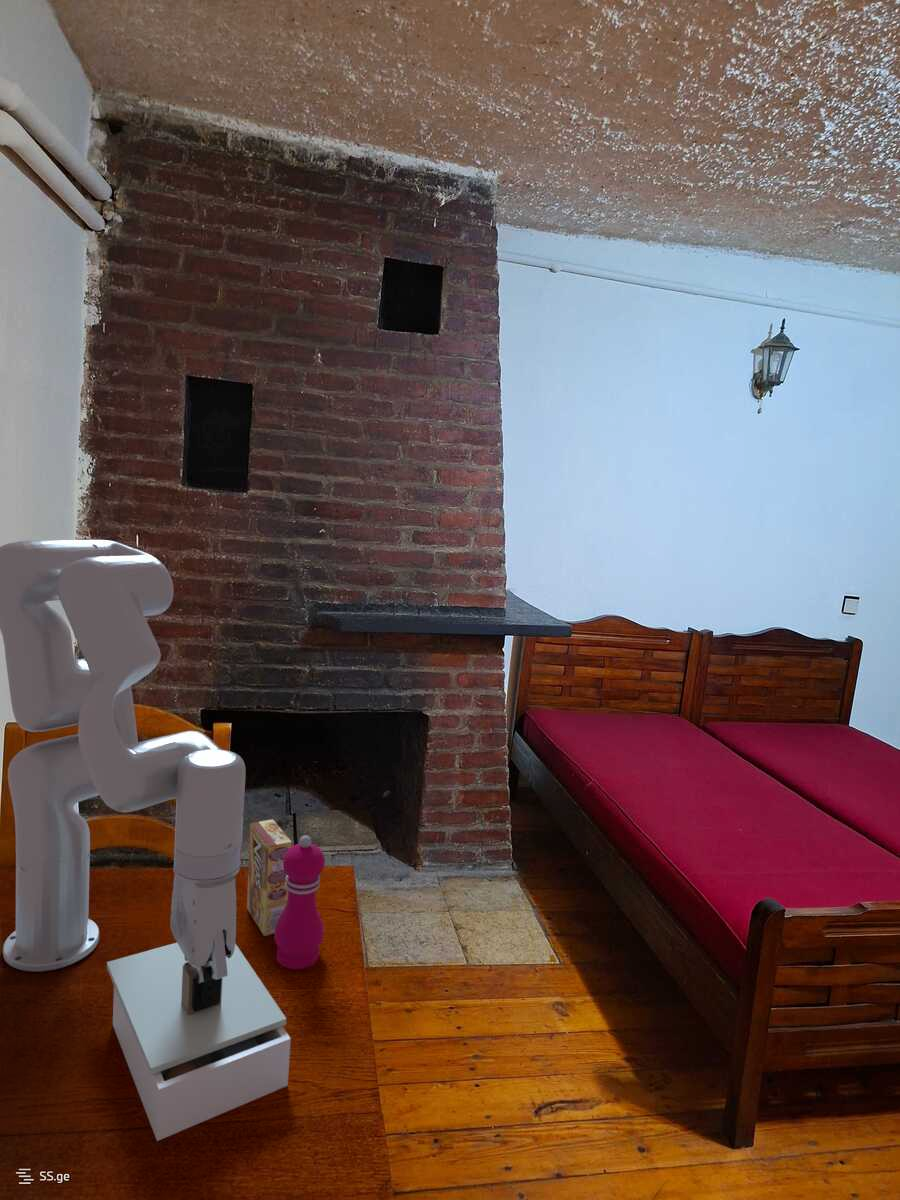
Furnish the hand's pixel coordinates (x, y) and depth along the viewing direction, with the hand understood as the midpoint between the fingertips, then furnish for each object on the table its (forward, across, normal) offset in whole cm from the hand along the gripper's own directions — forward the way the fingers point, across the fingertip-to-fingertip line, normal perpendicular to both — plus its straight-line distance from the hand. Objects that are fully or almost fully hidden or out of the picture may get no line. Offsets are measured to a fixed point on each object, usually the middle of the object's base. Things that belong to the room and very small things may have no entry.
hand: (201, 997), depth 92 cm
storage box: (+9, -1, 0) cm, 9 cm away
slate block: (+8, +4, +3) cm, 9 cm away
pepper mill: (+9, -13, +19) cm, 25 cm away
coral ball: (+8, +4, -4) cm, 10 cm away
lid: (+2, -3, 0) cm, 3 cm away
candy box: (+9, -25, +19) cm, 32 cm away
